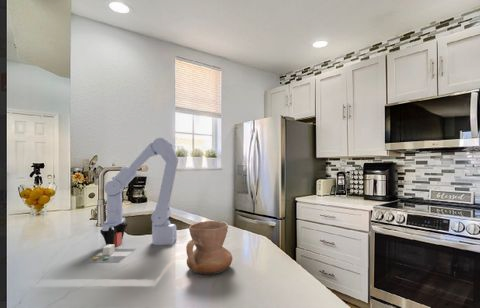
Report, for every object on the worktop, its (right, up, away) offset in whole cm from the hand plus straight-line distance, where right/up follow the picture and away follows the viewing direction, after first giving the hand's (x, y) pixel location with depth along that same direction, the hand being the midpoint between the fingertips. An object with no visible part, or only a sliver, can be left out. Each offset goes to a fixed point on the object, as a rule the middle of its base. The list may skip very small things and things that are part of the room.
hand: (114, 244), depth 108 cm
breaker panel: (+5, -1, -12) cm, 13 cm away
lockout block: (0, -2, 0) cm, 2 cm away
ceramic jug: (+40, -1, -22) cm, 46 cm away
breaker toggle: (+3, 0, -11) cm, 12 cm away
